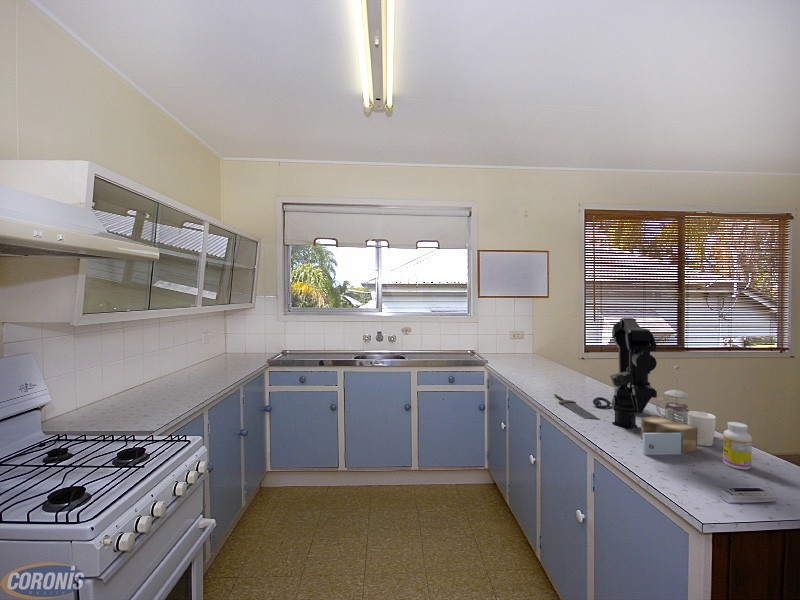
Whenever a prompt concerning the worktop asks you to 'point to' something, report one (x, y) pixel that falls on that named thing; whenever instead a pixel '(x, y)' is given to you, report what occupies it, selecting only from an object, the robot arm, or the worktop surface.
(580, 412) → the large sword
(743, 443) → the supplement bottle
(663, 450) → the door
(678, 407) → the french press
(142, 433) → the worktop surface
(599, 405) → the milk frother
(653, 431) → the cabinet
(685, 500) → the worktop surface
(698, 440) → the white cup
